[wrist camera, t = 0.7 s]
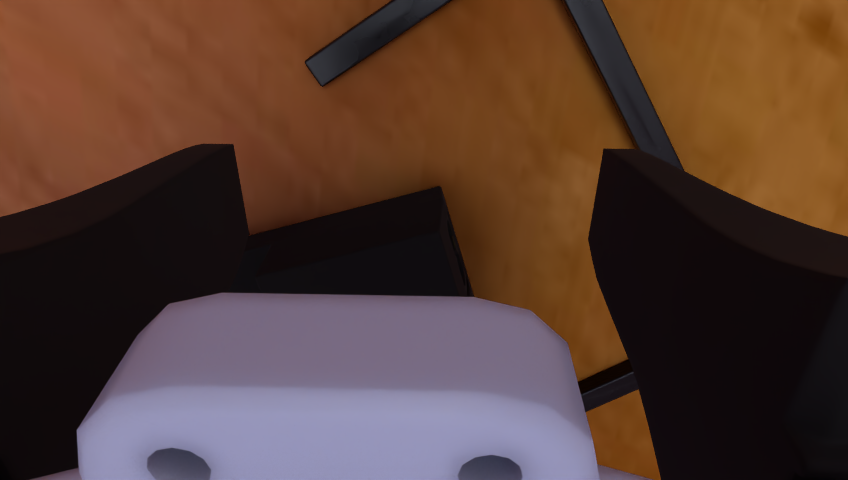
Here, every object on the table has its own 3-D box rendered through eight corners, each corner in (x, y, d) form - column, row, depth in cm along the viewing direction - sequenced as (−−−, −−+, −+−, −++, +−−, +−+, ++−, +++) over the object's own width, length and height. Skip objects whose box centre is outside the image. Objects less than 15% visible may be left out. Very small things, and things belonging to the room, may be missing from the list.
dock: (554, 412, 27) (557, 425, 26) (308, 57, 21) (303, 62, 20) (754, 324, 25) (763, 336, 24) (546, -107, 18) (550, -109, 18)
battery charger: (443, 181, 22) (442, 227, 19) (503, 382, 26) (511, 452, 23) (132, 263, 24) (77, 318, 21) (230, 438, 28) (199, 510, 25)
